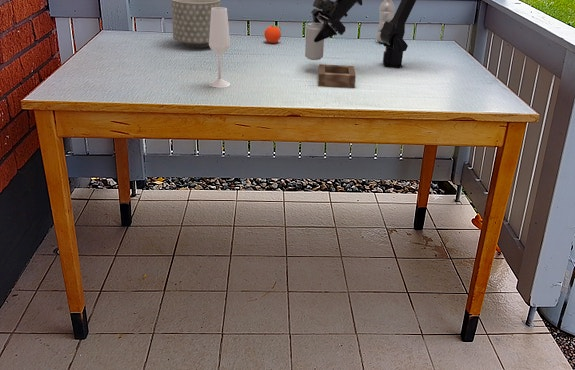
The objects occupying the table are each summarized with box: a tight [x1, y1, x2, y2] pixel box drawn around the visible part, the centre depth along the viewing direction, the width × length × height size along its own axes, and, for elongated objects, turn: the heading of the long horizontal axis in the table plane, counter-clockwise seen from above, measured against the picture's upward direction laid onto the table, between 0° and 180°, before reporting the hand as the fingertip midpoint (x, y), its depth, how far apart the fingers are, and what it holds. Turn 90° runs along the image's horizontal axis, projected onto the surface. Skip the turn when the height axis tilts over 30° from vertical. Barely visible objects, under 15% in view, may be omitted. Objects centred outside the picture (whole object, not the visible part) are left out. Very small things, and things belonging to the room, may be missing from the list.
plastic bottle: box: [375, 0, 396, 44], centre depth 243 cm, size 6×7×20 cm
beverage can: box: [304, 22, 325, 61], centre depth 200 cm, size 6×6×12 cm
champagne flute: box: [208, 6, 231, 88], centre depth 181 cm, size 7×7×24 cm
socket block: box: [317, 63, 357, 89], centre depth 193 cm, size 12×12×4 cm
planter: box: [170, 0, 222, 49], centre depth 227 cm, size 19×19×18 cm
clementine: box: [263, 25, 282, 44], centre depth 239 cm, size 8×7×7 cm
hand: (311, 39), depth 200 cm, fingers closed on beverage can, 6 cm apart
